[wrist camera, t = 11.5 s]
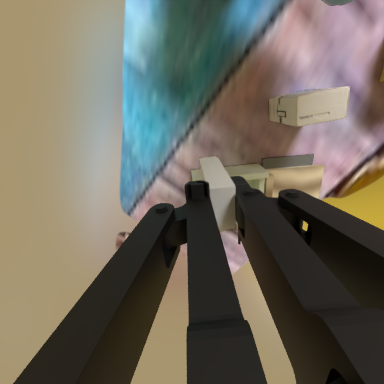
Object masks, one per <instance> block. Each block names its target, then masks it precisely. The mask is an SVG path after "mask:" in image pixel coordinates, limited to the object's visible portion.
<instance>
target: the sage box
mask: <svg viewBox="0 0 384 384" xmlns="http://www.w3.org/2000/svg"><path fill="white" fill-rule="evenodd" d="M224 168H225V170H226V171H227V173H228V175H229V176H230V177H232V176H241V177H243V178H244V179H245V180H246V181H247V182H248V184H249V185H250V186H251V188H255V189H258V190H260V191H262V192H263V193H264V183H265V178H269V172H268V171H267V170H266V169H264V168H263V167H262V166H261V165H259V164H258V163H255V164H245V165H235V166H224ZM191 174H192V181H198V180H201V170H200V169H193V170H191ZM236 224H237V222H236Z"/></svg>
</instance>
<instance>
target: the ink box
mask: <svg viewBox="0 0 384 384" xmlns="http://www.w3.org/2000/svg"><path fill="white" fill-rule="evenodd" d="M349 93H350V87H337V88H325V89H312V90H304V91H299V92H295V93H290V94H286V95H281V96H276V97H272V98H269V117H270V121H273V122H277V123H282V124H286V125H291V126H296V127H300V126H305V125H310V124H316V123H321V122H327V121H332V120H338V119H343V118H345V117H347V112H348V104H349Z"/></svg>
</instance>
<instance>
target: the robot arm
mask: <svg viewBox="0 0 384 384" xmlns="http://www.w3.org/2000/svg"><path fill="white" fill-rule="evenodd" d="M322 1H323V2H324V3H325V4H327V5H330V6H336V5H340V6H341V5H345V4H347V3H350V2H352V1H354V0H322ZM199 159H200V170H201V180H198V181H191V182H189V183H187V184H185V194H186V204H185V205H183V206H181V207H179V208H175V209H174V206H173V205H172V204H168V203H160V204H157V205H155V206H153V207H152V208H150V209H149V211H148V212H147V213H146V214H145V216H144V217H143V218H142V220H141V221H140V222H139V223H138V225H137V226H136V227H135V229H134V230H133V231H132V232H131V234H130V235H129V236H128V237H127V239H126V240H125V241H124V243H123V244H122V245H121V246H120V248H119V249H118V250H117V252H116V253H115V254H114V255H113V257H112V258H111V259H110V260H109V262H108V263H107V264H106V266H105V267H104V268H103V269H102V271H101V272H100V273H99V275H98V276H97V277H96V278H95V280H94V281H93V282H92V284H91V285H90V286H89V287H88V289H87V290H86V291H85V292H84V294H83V295H82V296H81V298H80V299H79V300H78V302H77V303H76V304H75V305H74V307H73V308H72V309H71V310H70V312H69V313H68V314H67V316H66V317H65V318H64V319H63V321H62V322H61V323H60V325H59V326H58V327H57V329H56V330H55V331H54V332H53V333H52V335H51V336H50V337H49V339H48V340H47V341H46V342H45V344H44V345H43V346H42V348H41V349H40V350H39V351H38V353H37V354H36V355H35V356H34V358H33V359H32V360H31V362H30V363H29V364H28V365H27V367H26V368H25V369H24V370H23V372H22V373H21V374H20V376H19V377H18V378H17V380H16V381H15V382H14V383H13V384H130V383H131V380H132V378H133V375H134V372H135V370H136V367H137V364H138V361H139V359H140V356H141V354H142V351H143V348H144V345H145V343H146V340H147V337H148V335H149V332H150V329H151V327H152V324H153V321H154V319H155V316H156V313H157V311H158V308H159V305H160V302H161V300H162V297H163V295H164V292H165V289H166V286H167V284H168V281H169V278H170V275H171V273H172V270H173V268H174V265H175V262H176V260H177V257H178V254H179V252H180V245H182V244H185V243H187V256H188V300H189V301H188V302H189V326H188V327H187V384H267V381H266V378H265V374H264V371H263V368H262V364H261V361H260V357H259V354H258V351H257V347H256V344H255V340H254V337H253V334H252V331H251V328H250V325H249V323H248V321H247V320H244V318H243V315H242V312H241V308H240V304H239V301H238V297H237V294H236V290H235V286H234V282H233V279H232V275H231V272H230V268H229V264H228V261H227V257H226V253H225V250H224V246H223V242H222V239H221V235H220V232H219V231H220V230H229V229H236V222H237V224H238V244H240V241H242V244H243V246H244V249H245V251H246V254H247V256H248V259H249V261H250V264H251V266H252V268H253V271H254V273H255V276H256V278H257V281H258V283H259V285H260V288H261V290H262V293H263V296H264V298H265V300H266V303H267V305H268V308H269V310H270V313H271V315H272V318H273V320H274V323H275V325H276V328H277V330H278V333H279V335H280V338H281V340H282V342H283V345H284V347H285V349H286V352H287V355H288V357H289V359H290V362H291V365H292V367H293V370H294V374H295V378H296V384H384V230H381V229H379V228H377V227H375V226H373V225H371V224H369V223H367V222H365V221H363V220H361V219H359V218H357V217H355V216H352V215H350V214H348V213H346V212H344V211H342V210H340V209H338V208H336V207H334V206H332V205H330V204H328V203H326V202H324V201H322V200H319V199H317V198H315V197H313V196H311V195H309V194H307V193H305V192H303V191H300V190H296V189H284V190H281V191H280V192H279V193H278V197H266V196H265V195H264V193H263V192H262V191H260V190H258V189H255V188H251V186H250V185H249V184H248V182H247V181H246V180H245V179H244V178H243V177H241V176H232V177H230V176H229V175H228V173H227V171H226V170H225V168H224V166H223V165H222V163H221V162H220V160H219V158H218V157H217V156H215V157H206V158H199ZM303 220H304V221H305V222H307V223H308V229H307V231H305V230H303V229H302V226H303Z"/></svg>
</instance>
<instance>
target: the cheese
mask: <svg viewBox="0 0 384 384" xmlns="http://www.w3.org/2000/svg"><path fill="white" fill-rule="evenodd" d="M380 82H384V65H383V69H382V73H381V78H380Z"/></svg>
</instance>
